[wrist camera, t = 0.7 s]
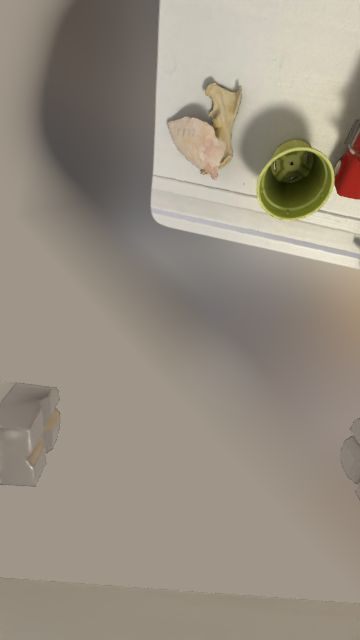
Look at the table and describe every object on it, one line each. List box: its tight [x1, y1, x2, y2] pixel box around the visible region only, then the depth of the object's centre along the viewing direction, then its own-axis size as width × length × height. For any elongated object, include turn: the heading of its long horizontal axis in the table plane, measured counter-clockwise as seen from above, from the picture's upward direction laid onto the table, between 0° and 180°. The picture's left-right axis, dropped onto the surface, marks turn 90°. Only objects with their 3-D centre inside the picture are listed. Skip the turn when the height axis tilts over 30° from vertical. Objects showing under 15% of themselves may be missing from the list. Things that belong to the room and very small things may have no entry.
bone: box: [201, 83, 242, 174], centre depth 46 cm, size 12×5×2 cm, turn 179°
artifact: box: [168, 116, 226, 180], centre depth 46 cm, size 7×3×10 cm
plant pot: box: [257, 140, 335, 221], centre depth 44 cm, size 9×9×9 cm
